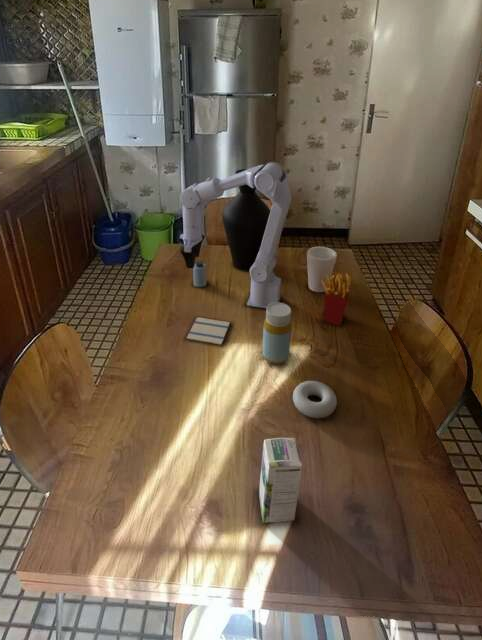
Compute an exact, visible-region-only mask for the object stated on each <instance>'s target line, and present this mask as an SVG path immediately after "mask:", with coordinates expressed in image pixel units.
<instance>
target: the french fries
mask: <svg viewBox="0 0 482 640" xmlns="http://www.w3.org/2000/svg"><path fill="white" fill-rule="evenodd" d="M326 277H327V279H328V282H329V284H328V286H327V284H326V282H325V280H324V279H323V280H322V281H321V282H322V283H323V285H324V287H325V290H326V291H325V292H324V297H323V298H324V300H323V301H324V302H323V303H324V304H323V323H328V324H331V325H335V326H341V325H342V322H343V319H344V314H345V311H346V306H347V303H348V298H349V294H350V291H351V285H352V275H350V273H345V277H346V282H344V280H343V274H341V273H337V274H336V275H334V274H332V275H331V278H330V277H329V276H328V275H327V276H326ZM334 279H335V280H334Z"/></svg>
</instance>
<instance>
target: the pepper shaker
mask: <svg viewBox="0 0 482 640" xmlns="http://www.w3.org/2000/svg"><path fill="white" fill-rule="evenodd" d="M192 276H193V277H192V279H193V286H194V287H196V288H204V287H205V286H206V285H207V283H208V282H207V264H206V263H204V261H203V260H197V261H195V264H194V268H193V269H192Z"/></svg>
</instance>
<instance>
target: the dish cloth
mask: <svg viewBox="0 0 482 640" xmlns="http://www.w3.org/2000/svg"><path fill="white" fill-rule="evenodd" d="M230 324H231V322H230V321H224V320H219V319H218V320H217V319H211V318H205V317H200V316H199V317H198V316H197V317H196V318H195V321H194V322H193V324H192V327H191V329H189V330H190V331H189V332H188V335H187V336H186V340H190V341H195V342H196V341H197V342H203V343H208V344H215V345H221V346H222V345H223V342H224V339H225V337H226V334H227V332H228V330H229V327H230Z"/></svg>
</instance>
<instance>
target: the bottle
mask: <svg viewBox="0 0 482 640" xmlns="http://www.w3.org/2000/svg"><path fill="white" fill-rule="evenodd" d="M265 309H266V310H265V319H264V322H263V327H262V328H263V331H262V345H261V346H262V347H261V355H262V358H263V360H264V361H265V362H267V363H269V364H272V365H282V364H283V363H285V362H287V361H288V360H289V357H290V356H289V355H290V346H291V336H292V322H291V317H292V308H291V307H290V306H289V305H288V304H286V303H284V302H279V303H271V304H269V305H268V306H267V308H265Z"/></svg>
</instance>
